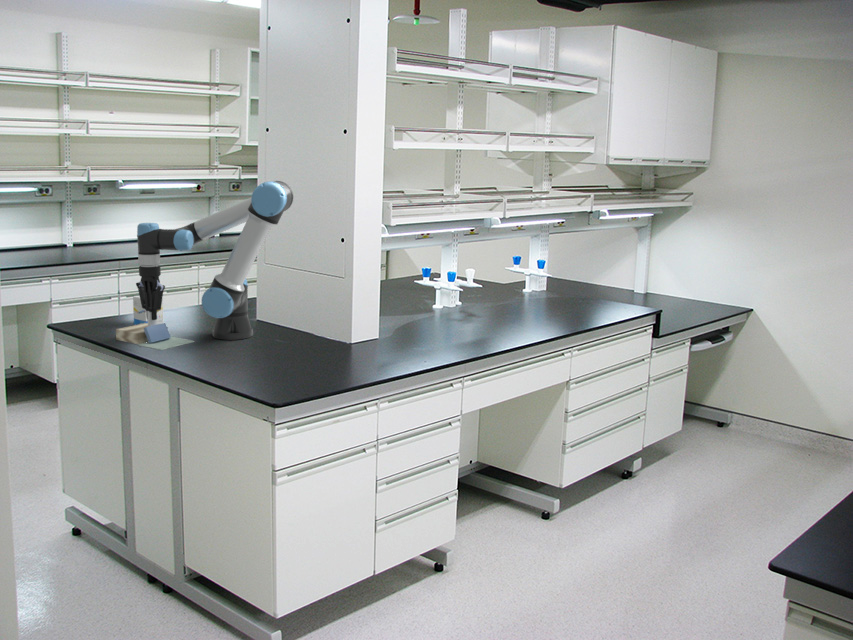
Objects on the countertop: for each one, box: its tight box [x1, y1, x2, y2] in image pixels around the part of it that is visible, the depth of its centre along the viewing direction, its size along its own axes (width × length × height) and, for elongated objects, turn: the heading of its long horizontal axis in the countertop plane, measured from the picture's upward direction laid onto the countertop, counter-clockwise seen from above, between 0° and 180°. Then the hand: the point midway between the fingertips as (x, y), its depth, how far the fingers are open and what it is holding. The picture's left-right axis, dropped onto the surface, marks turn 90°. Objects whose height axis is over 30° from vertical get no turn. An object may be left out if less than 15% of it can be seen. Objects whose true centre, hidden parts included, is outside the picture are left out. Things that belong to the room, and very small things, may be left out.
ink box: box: [132, 295, 164, 325], centre depth 327 cm, size 9×8×12 cm
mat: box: [137, 336, 195, 351], centre depth 298 cm, size 12×16×1 cm
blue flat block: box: [143, 322, 172, 344], centre depth 300 cm, size 6×9×2 cm
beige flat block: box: [115, 323, 169, 345], centre depth 304 cm, size 12×14×4 cm
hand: (152, 328), depth 301 cm, fingers closed
